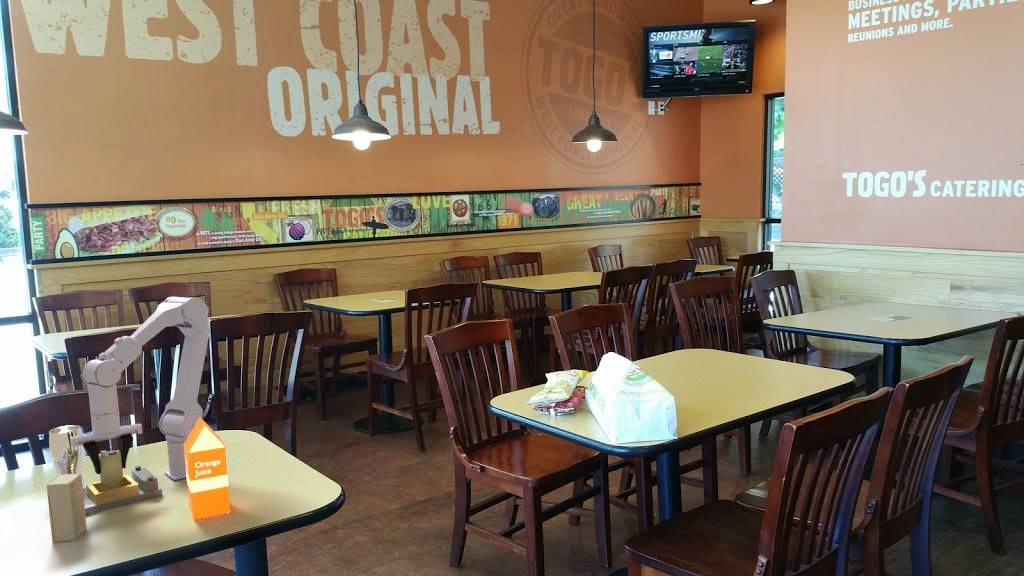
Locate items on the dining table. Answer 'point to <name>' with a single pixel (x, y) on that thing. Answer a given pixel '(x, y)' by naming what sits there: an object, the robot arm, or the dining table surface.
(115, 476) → the spout can
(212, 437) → the orange juice
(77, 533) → the skincare box
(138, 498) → the grey metal fixture plate
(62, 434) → the beer glass
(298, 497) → the dining table surface
